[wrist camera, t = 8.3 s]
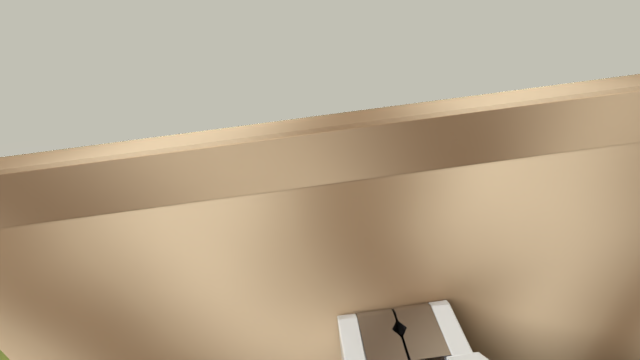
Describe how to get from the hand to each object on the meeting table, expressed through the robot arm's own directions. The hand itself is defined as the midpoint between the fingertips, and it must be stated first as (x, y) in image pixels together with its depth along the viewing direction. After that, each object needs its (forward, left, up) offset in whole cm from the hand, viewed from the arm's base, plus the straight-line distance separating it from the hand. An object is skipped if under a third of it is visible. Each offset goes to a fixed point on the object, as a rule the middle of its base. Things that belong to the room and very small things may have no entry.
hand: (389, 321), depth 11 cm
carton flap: (0, 0, 0) cm, 0 cm away
